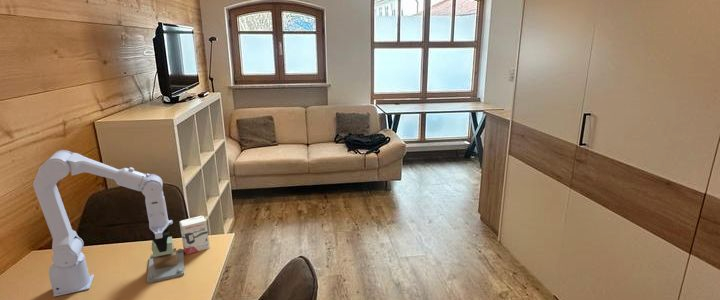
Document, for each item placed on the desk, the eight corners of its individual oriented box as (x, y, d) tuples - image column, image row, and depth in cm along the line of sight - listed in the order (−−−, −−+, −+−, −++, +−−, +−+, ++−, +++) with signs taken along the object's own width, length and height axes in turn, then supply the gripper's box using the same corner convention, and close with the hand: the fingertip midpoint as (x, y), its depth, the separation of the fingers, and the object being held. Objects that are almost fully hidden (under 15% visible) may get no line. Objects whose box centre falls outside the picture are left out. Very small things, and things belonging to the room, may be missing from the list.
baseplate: (147, 283, 127) (146, 279, 127) (150, 258, 141) (149, 254, 141) (184, 275, 131) (183, 271, 131) (183, 251, 145) (183, 247, 145)
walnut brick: (154, 269, 133) (152, 259, 132) (155, 262, 137) (153, 252, 136) (177, 264, 135) (175, 254, 134) (177, 258, 139) (175, 248, 138)
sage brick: (153, 257, 131) (151, 246, 130) (154, 250, 135) (152, 240, 134) (173, 253, 134) (171, 242, 133) (173, 246, 138) (171, 236, 137)
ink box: (186, 255, 143) (181, 226, 139) (183, 249, 147) (178, 220, 143) (210, 248, 147) (206, 219, 144) (207, 242, 151) (203, 214, 148)
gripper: (169, 218, 125) (176, 255, 129) (170, 200, 138) (176, 235, 142) (144, 222, 123) (152, 260, 127) (148, 204, 135) (154, 239, 139)
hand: (163, 247), depth 134 cm, fingers closed on sage brick, 4 cm apart
